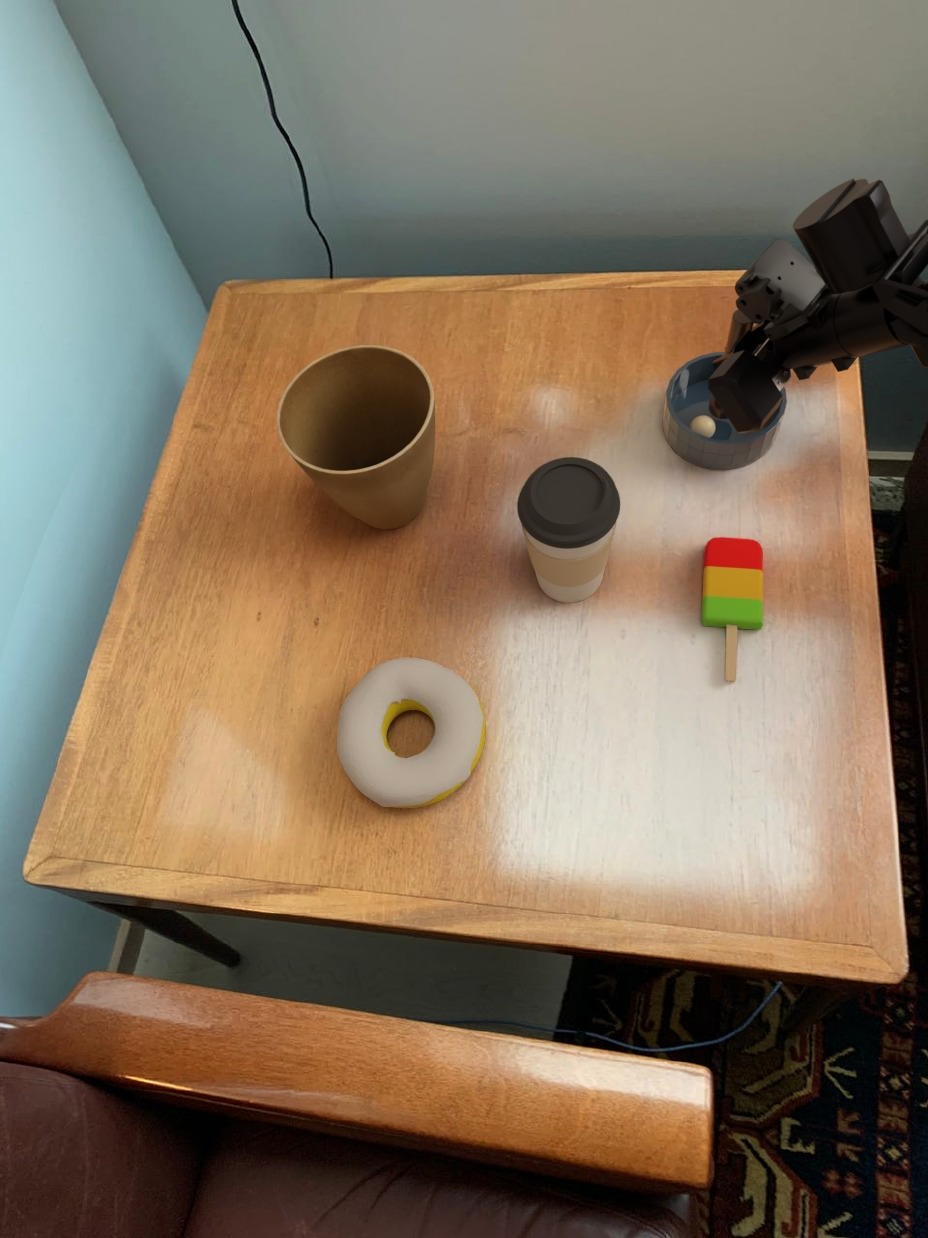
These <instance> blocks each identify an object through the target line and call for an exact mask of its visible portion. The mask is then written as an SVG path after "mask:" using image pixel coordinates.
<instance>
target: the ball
mask: <svg viewBox="0 0 928 1238" xmlns="http://www.w3.org/2000/svg"><path fill="white" fill-rule="evenodd" d="M690 429H691V430H692V431H693V432H696V433H698V434H700V435H703V436H705V437H708V438H710V437H712V435H713V434H714V432H715V422H714V421H713V419H712V418H710V417H709V416H706V415H701V416H698V417H696V418H695V419H694V420H693V421H692V422H691V424H690Z"/></svg>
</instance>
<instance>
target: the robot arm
mask: <svg viewBox="0 0 928 1238" xmlns="http://www.w3.org/2000/svg"><path fill="white" fill-rule="evenodd" d="M792 229H793V231H794V232H795V234H796V235H797V238H798V239H799V241H800V243H801V244H802V246H803V248H804V250H805V251H806V253H807V255H808V257H809V259H807V258H806V257H805V256H804V255H803V254H802V252H800V251H799V250H798V249H797V248H796V247H794V245H793V244H791V243H790V242H789V241H788V240H786V239H784V238H776V239H774V240H773V241H772V242H771V243H770V244H769V245H768V246H767V248H765V250H763V252H762V253H761V254H760V255H759V256H758V257H756V259H755V260H754V261H753V262H752V263H751V265H750V266H749V267H748V268H747V269H746V270H745V272H744V273H742V275H741V276H740V277H739V278H738V280H737V281H736V282H735V284H734V291H735V293H736V295H737V296H738V297H737V298H736V300H735V306H736V308H737V309H739V310H740V311H741V312H742V313H743V314H744V315H745V316H746V317H747V318H748V319H749V320H751V321H752V322H753V323H754V324H755V325H753V328H752V332H751V331H750V330H748V331H747V332H746V333H745V335H744V336H743V337H742V338H741V339H740V340H739V342H738V343H737V344H736V345H735V346H734V348H733V351H732V352H730V353H728V354H726V355H723V356H721V357H720V358H718V359H716V360H714V361H713V362H712V366H713V367H714V369H715V370H716V371H715V372H714V373H713V374H712V375H711V377H710V378H709V379H708V389H709V390H710V392H711V393H712V395H713V396H714V398H715V399H716V401H717V402H718V404H719V405H720V407H721V408H722V410H723V411H724V413H725V414H726V416H727V417H728V419H729V420H730V422H731V423H732V425H733V426H734V428H735V429H736V431H737V432H738V433H747V432H753V431H760V429H761V428H762V427H763V426H764V424H765V423H766V422H767V421H768V419H769V418H770V417H771V416H772V414H773V413H774V412H775V411H776V409H777V408H778V407H779V406H780V403H781V400H782V394H781V393H780V391H781V390H782V388H783V387H785V386H786V385H787V384H788V382H790V380H791V378H792V371H793V372H794V374H795V376H796V378H797V379H798V381H803V380H807V379H810V377H811V376H812V375H813V373H814V372H815V371H816V370H817V369H818V367H821V366H825V365H826V366H827V365H831V364H832V365H833V366H834V368H835V370H836V371H837V372H838V373H839V372H843V371H848V370H849V369H850V368H851V366H853V364H854V363H855V361H856V360H857V359H858V358H860V357H864V356H869V355H873V354H878V353H881V352H887V351H890V350H895V349H898V348H903V347H909V346H910V347H911V349H912V350H913V352H914V354H915V355H916V356H915V357H916V358H917V360H918V361H919V364H920V365H921V367H923V368H928V280H926V279H922V277H921V276H920V275H922V273H923V272H924V270H925V269H926V268H927V266H928V219H925V220H924V221H922V223H921V224H920V225H919V226H918V227H917V229H915V231H914V232H913V233H910V234H907V232H906V230H905V228H904V226H903V223H902V222H901V220H900V218H899V216H898V213H897V212H896V211H895V208H894V206H893V204H892V200H891V195H890V193H889V190H888V189H887V187H886V185H885V183H884V181H883V180H881V179H877V180H875V181H872V182H869V181H868V179H866V178H860V179H855V178H850V179H849V180H847V181H844V182H842V183H840V184H839V185H836V186H835V187H833V188H831V189H829V190H828V191H827V192H825V193H824V194H823V195H821V196H819V197H818V198H817V199H816V200H814V201H813V202H812V203H810V204H809V205H808V206H807V207H805V209H804V210H803V211H802V212H801V213H799V215H798V216H797V217H796V218H795V219H794V221H793V223H792ZM725 349H726V346H725V347H724V350H725ZM791 370H792V371H791Z"/></svg>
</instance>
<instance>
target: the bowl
mask: <svg viewBox="0 0 928 1238" xmlns="http://www.w3.org/2000/svg"><path fill="white" fill-rule="evenodd" d="M724 354H725V351H714V352H710V353H706V354H701V355H699V356H697V357H694V358H692V359H690V360H688V361H686V362H685V363H684V364H683V365H681V366H680V367H679V368H678V369H677V370H676V371H675V372H674V374H673V375H672V377H670V379H669V382H668V384H667V388H666V391H665V400H664V406H663V413H662V431H663V434H664V437H665V439H666V442H667V443H668V445H669V446H670V448H671V449H672V450H673V451H674V452H675V453H676V454H677V455H678V456H679V457H681V458H682V459H683V460H685V461H686V462H689V463H690V464H692V465H694V466H698V467H700V468H704V469H708V470H716V471H718V470H719V471H725V470H726V471H727V470H734V469H740V468H744V467H746V466H748V465H751V464H753V463H755V462H756V461H758V460H760V459H761V458H762V457H764V456H765V455H766V454H767V453H768V452H769V450H770V449H771V448H772V447H773V445H774V443H775V441H776V439H777V436H778V434H779V430H780V427H781V425H782V421H783V419H784V416H785V412H786V409H787V403H788V399H787V389H786V387H785V386H784V387H783V388H782V390H781V391H780V393H781V394H782V400H781V403H780V406H779V407H778V408H777V409H776V411H775V412H774V413H773V414H772V416H771V417H770V418H769V419H768V421H767V422H766V423H765V424H764V426H763V427H762V428H761V429H760V431H753V432H747V433H738V432H737V431H736V429H735V428H734V426H733V425H732V423H731V422H730V420H729V419H719V418H716V417H714V416H713V415H712V414H711V413H710V411H709V402H710V398H711V396H712V393H711V392H710V390H709V389H708V379H709V378H710V377H711V375H712V374H713V373H714V372H715V371H716V370H715V369H714V367H713V366H712V362H713V361H714V360H716V359H718V358H720V357H721V356H723V355H724ZM701 415H706V416H709V417H710V418H712V419H713V421H714V422H715V432H714V434H713V435H712V437H710V438H708V437H705V436H703V435H700V434H698V433H696V432H693V431H692V430H691V429H690V424H691V422H692V421H693V420H694V419H695V418H696V417H698V416H701Z"/></svg>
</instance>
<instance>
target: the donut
mask: <svg viewBox="0 0 928 1238" xmlns="http://www.w3.org/2000/svg"><path fill="white" fill-rule="evenodd" d="M407 711H418V712H419V711H420V712H422V713H424V714H426V715H427V716H428V717H429V718H430V719H431V720H432V722H433V725H434V729H435V730H434V735H433V738H432V739H431V742H430V743H429V744H428V746H427V747H425V749H423V751H421V752H420V753H417V754H415V755H412V756H408V757H402V756H400V755H397V754H396V752H395V751H393V750H392V749H391V747H390V746H389V743H388V738H387V736H388V729H389V727H390V725H391V723H392V722H393V720H394V719H396V718H397V716H399V715H401V714H402V713H404V712H407ZM486 726H487V725H486V717H485V711H484V707H483V704H482V701H481V699H480V697H479V695H478V693H477V692H476V689H475V688H474V687H473V686H472V685H471V683H469V682H468V681H467V680H466V679H465V678H464V677H462V676H460V675H459V674H458V673H456V672H455V671H454V670H452V669H451V668H448V667H446V666H444V665H442V664H440V663H438V662H435V661H433V660H431V659H426V658H420V657H407V656H402V657H396V658H392V659H389V660H385V661H383V662H381V663H379V664H377V665H376V666H374V667H372V669H370V670H369V671H368V672H367V673H365V675H364V676H363V677H362V678H361V679H360V680H359V681H358V683H356V685H355V686H354V687H353V688H352V689H351V690H350V692H349V694H348V696H346V699H345V700H344V702H343V705H342V707H341V709H340V712H339V717H338V721H337V739H336V752H337V756H338V760H339V762H340V764H341V767H342V768H343V770H344V772H345V774H346V776H347V778H349V780H350V781H351V783H352V784H353V785H354V787H355V788H356V789H357V790H358V791H359V792H360V793H361V794H362V795H364V796H365V797H367V798H368V799H369V800H371V801H373V802H374V803H376V804H378V805H379V806H381V807H383V808H389V807H390V808H397V809H416V808H423V807H427V806H431V805H433V804H437V803H438V802H440V801H442V800H444V799H446V798H447V797H450V795H452V794H453V793H454V792H456V791H457V790H458V789H459V788H460V787H461V786H462V785H463V784H464V783H465V782H466V781H467V780H468V779H469V778H470V777H471V774H472V772H473V771H474V770H475V768H476V766H477V764H478V763H479V760H480V758H481V756H482V753H483V750H484V746H485V742H486V741H485V740H486Z"/></svg>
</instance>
